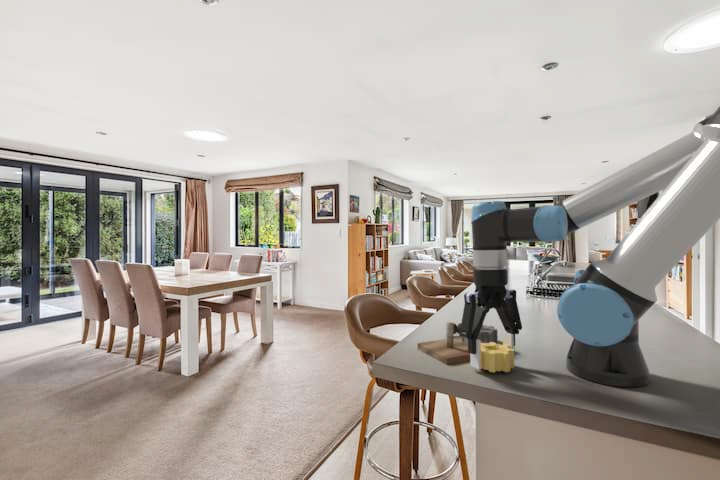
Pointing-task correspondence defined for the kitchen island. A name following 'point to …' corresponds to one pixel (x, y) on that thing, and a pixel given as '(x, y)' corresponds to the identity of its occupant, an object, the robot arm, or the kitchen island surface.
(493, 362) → the mustard gear
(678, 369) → the kitchen island surface
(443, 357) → the gear board
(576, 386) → the kitchen island surface
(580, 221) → the robot arm
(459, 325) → the regulator
